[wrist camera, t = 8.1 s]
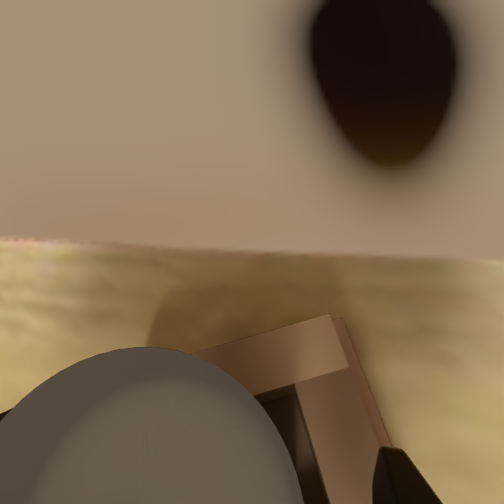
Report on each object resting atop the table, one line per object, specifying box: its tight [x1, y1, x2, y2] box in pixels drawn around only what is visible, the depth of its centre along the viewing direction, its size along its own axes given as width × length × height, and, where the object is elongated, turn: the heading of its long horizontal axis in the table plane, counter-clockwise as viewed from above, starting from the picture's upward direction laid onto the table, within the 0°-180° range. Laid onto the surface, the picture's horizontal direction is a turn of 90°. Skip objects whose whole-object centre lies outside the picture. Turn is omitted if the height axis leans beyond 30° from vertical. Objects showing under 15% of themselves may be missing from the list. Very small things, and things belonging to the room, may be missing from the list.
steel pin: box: [0, 347, 304, 504], centre depth 9 cm, size 3×3×13 cm
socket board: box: [190, 314, 392, 504], centre depth 14 cm, size 11×10×4 cm
